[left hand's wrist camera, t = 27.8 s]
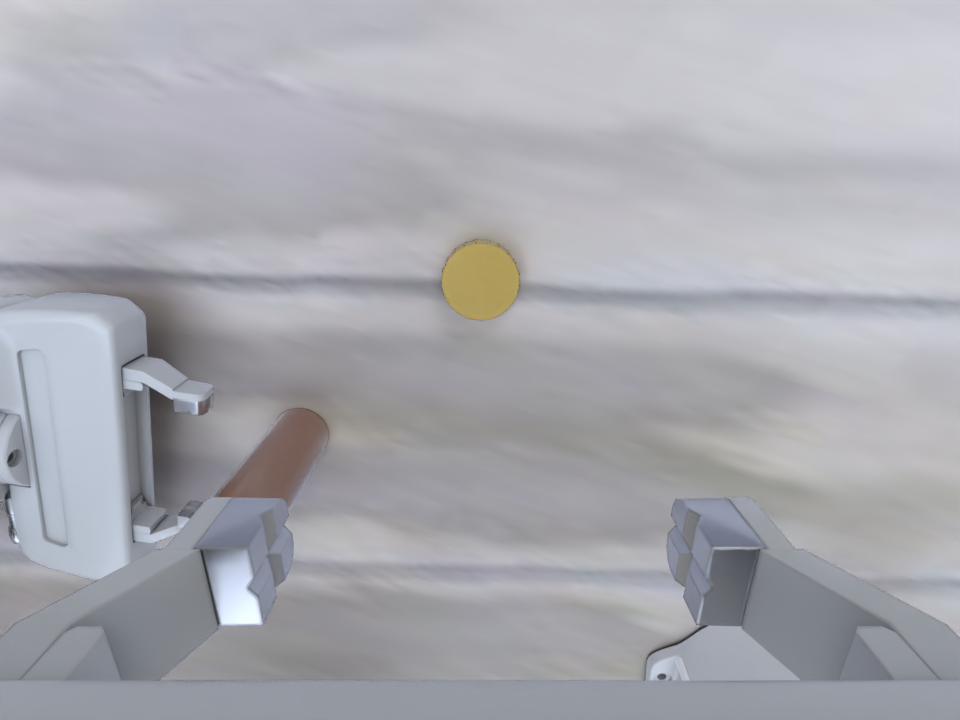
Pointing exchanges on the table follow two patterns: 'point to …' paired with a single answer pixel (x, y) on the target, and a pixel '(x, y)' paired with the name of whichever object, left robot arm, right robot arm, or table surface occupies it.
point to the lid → (480, 280)
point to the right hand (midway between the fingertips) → (209, 462)
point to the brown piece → (280, 459)
